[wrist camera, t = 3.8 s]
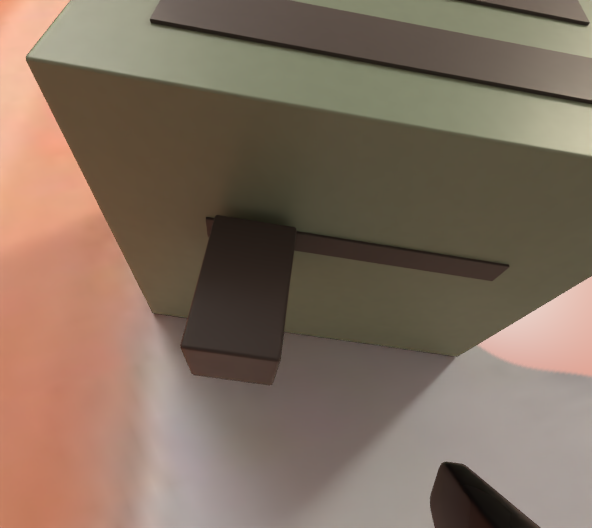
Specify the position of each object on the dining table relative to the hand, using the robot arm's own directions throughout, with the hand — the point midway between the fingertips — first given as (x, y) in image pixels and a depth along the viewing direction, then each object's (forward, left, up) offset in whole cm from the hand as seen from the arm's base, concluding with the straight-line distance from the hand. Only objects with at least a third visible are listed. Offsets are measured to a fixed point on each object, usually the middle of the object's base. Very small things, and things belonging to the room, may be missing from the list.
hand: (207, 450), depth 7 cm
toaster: (+11, +5, -11) cm, 16 cm away
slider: (+3, +3, -3) cm, 5 cm away
